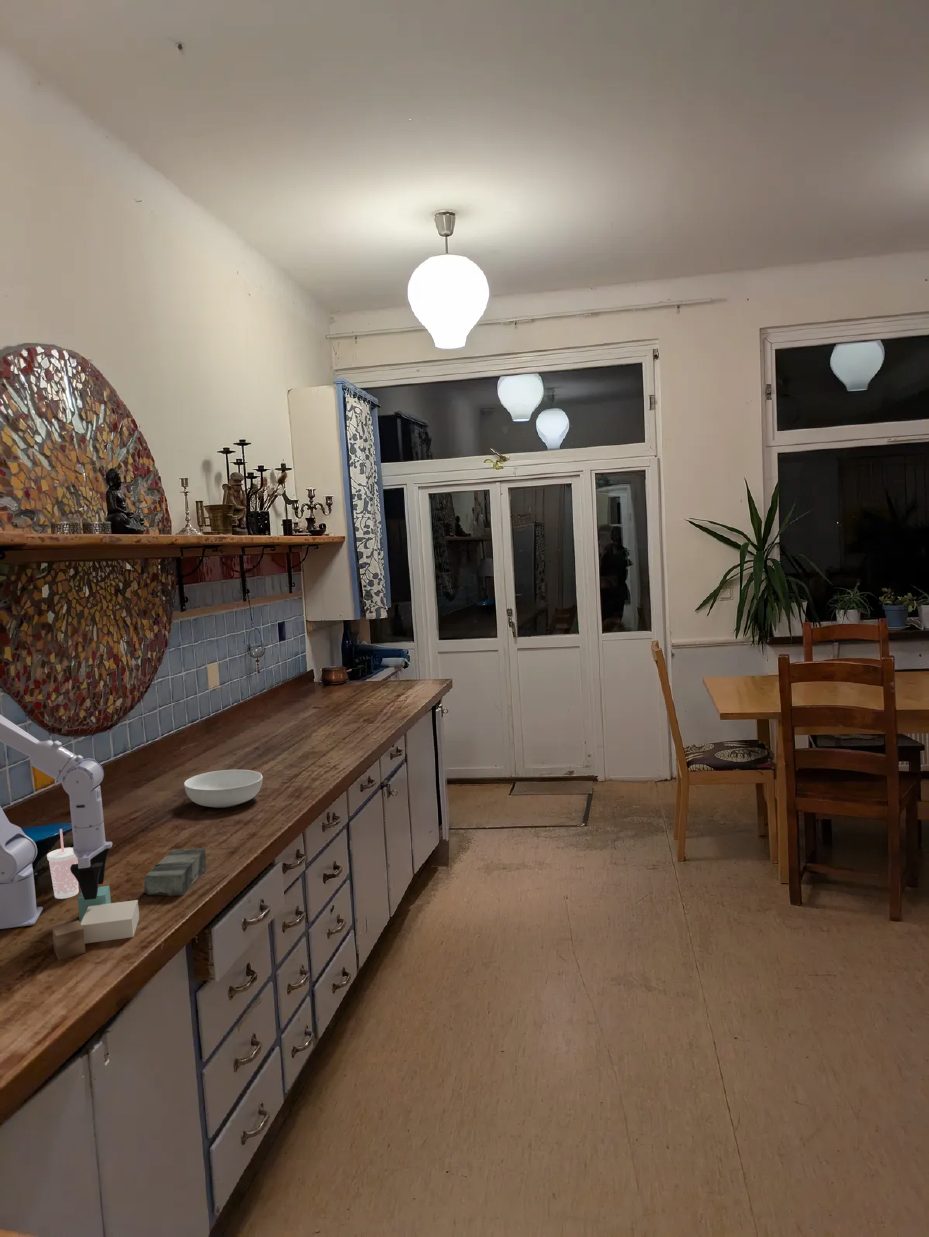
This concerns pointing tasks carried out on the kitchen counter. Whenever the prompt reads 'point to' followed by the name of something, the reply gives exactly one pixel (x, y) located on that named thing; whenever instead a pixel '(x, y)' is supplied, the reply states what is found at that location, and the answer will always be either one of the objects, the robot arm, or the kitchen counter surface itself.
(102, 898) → the teal cube
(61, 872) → the beverage cup
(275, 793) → the kitchen counter surface
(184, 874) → the stone block
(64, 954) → the walnut cube
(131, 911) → the ceramic base
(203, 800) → the serving bowl
